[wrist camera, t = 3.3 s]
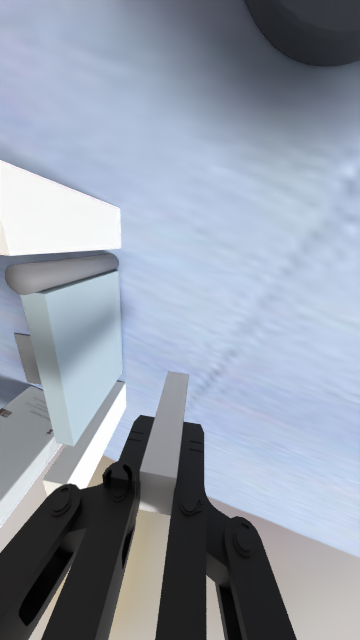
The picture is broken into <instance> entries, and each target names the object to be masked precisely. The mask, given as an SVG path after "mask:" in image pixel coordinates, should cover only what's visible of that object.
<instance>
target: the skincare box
mask: <svg viewBox="0 0 360 640" xmlns="http://www.w3.org/2000/svg"><path fill="white" fill-rule="evenodd" d="M61 446H62V444H59V443H56V441H55V437H54V433H53V428H52V424H51V420H50V416H49V412H48V408H47V404H46V400H45V395H44V391H42V390H40V389H38V388H36V387H33V386H30V387H28V388H27V389H26V390H24V391H23V392H22V393H21V394H19V395H18V396H17V397H16V398H14V399H13V400H12V401H11V402H9V403H8V404H7V405H5V406H4V407H3V408H2V409H0V528H1V526H2V525H3V524H4V522H5V521H6V519H7V518H8V517H9V515H10V514H11V513H12V511H13V510H14V509H15V508H16V506H17V505H18V503H19V502H20V501H21V499H22V498H23V497H24V495H25V494H26V493H27V491H28V490H29V489H30V487H31V486H32V484H33V483H34V482H35V481H36V479H37V478H38V477H39V475H40V474H41V472H42V471H43V470H44V468H45V467H46V466H47V464H48V463H49V462H50V460H51V459H52V457H53V456H54V455H55V454H56V452H57V451H58V450H59V448H60V447H61Z"/></svg>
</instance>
